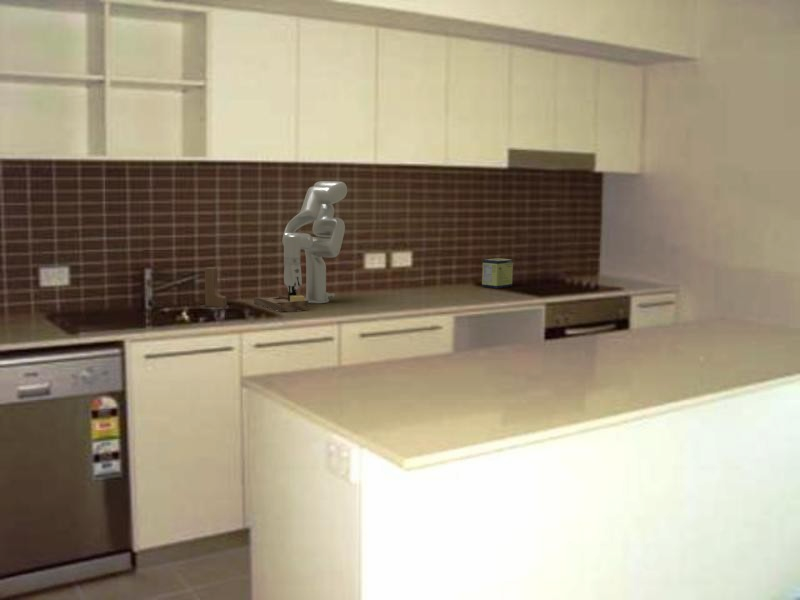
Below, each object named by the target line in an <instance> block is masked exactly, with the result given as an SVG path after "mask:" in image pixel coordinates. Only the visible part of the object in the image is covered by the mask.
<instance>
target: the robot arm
mask: <svg viewBox="0 0 800 600" xmlns="http://www.w3.org/2000/svg"><path fill="white" fill-rule="evenodd" d="M347 193H348V186H347V185H346V183H345V182H344V181H329V180H327V181H326V180H325V181H324V180H322V181H317V182H315V183H313V186H310V187H309V188H308V189H307V190H306V194H305V197H304V201H303V202H302V206H301V208H300V211H299V212H298V213H297V214H296V215H295V216H293V217H292V219H290V220H289V222H288V223H287V224H286V225H285V228H284V231H283V235H282V239H281V241H282V245H283V267H284V270H283V284H284V285H285V287H286V288H287V294H288V301H290V296H293V295H297V290H299V287H301V286H303V281H302V280H303V279H302V278H303V276H302V267H301V250H304V253H305V265H306V266H305V268H306V270H305V272H306V276H305V281H306V282H305V285H306V286H305V291H306V292H305V294H306V295H305V301H308V304H325V303H329V302H330V299H329V298H335V297H336V294H335V293H333V292H332V293H329V292H327V266H326V263H325V260H324V259H323V258H336V257H337V256H339V255H340V251H341V248H342V244H343V240H344V236H345V232H346V226H345V222H344V220H343V219H342V218H340V217H334V215H335V208H334V204H337V203H339V202H340V201H342V200H343V199H345V198H346V196H347ZM311 223H313V225H312V228H311V229H312V234H313V235H315V236H312V235H311V234H310V233H305V232H304V233H303V232H297V230H298V229H301V227H303V226H306V225H308V224H311Z"/></svg>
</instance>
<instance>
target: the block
mask: <svg viewBox="0 0 800 600" xmlns="http://www.w3.org/2000/svg"><path fill="white" fill-rule="evenodd" d="M305 298H306V295H301V294H296V295H293V296H290V302H294V301H305Z"/></svg>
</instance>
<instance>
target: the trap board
mask: <svg viewBox="0 0 800 600" xmlns="http://www.w3.org/2000/svg"><path fill="white" fill-rule="evenodd" d="M253 298H254V303H255V305H257V304H258V306H260V305H261V307H263V306H265V307H264V308H266V307H268V308H267V309H269V308H271V309H270V310H272V309H274V310H273V311H275V310H278V311H280V312H279V313H284V312H283V311H293V312H298V311H297V310H306V311H309V303H308V301H294V302H290V301H288V297H287V296H285V295H280V294H279V295H278V296H277V297H276V296H275V297H273V296H272V297H257V296H254V297H253ZM278 311H277V312H278Z"/></svg>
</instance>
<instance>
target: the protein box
mask: <svg viewBox="0 0 800 600" xmlns="http://www.w3.org/2000/svg"><path fill="white" fill-rule="evenodd" d="M513 269H514V259H510V258H499V257H497V258H489V259H482V275H481V276H482V277H481V287H482V288H487V289H489V288H491V289H501V288H502V289H504V288H509V286H511V287H513V275H514V273H513V271H514V270H513ZM503 287H504V288H503Z"/></svg>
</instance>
